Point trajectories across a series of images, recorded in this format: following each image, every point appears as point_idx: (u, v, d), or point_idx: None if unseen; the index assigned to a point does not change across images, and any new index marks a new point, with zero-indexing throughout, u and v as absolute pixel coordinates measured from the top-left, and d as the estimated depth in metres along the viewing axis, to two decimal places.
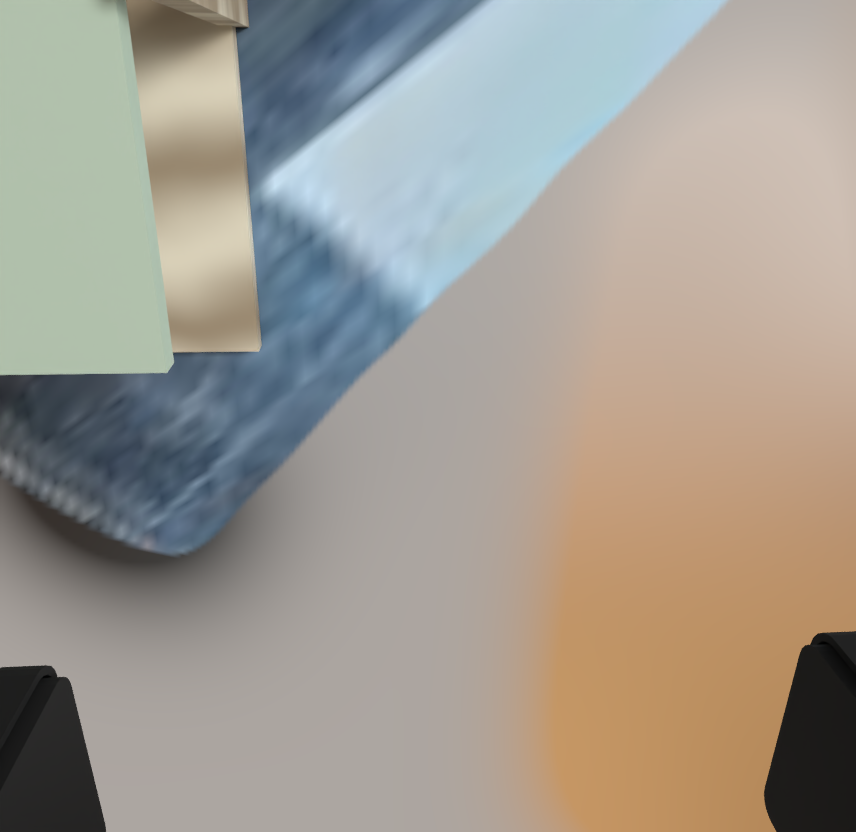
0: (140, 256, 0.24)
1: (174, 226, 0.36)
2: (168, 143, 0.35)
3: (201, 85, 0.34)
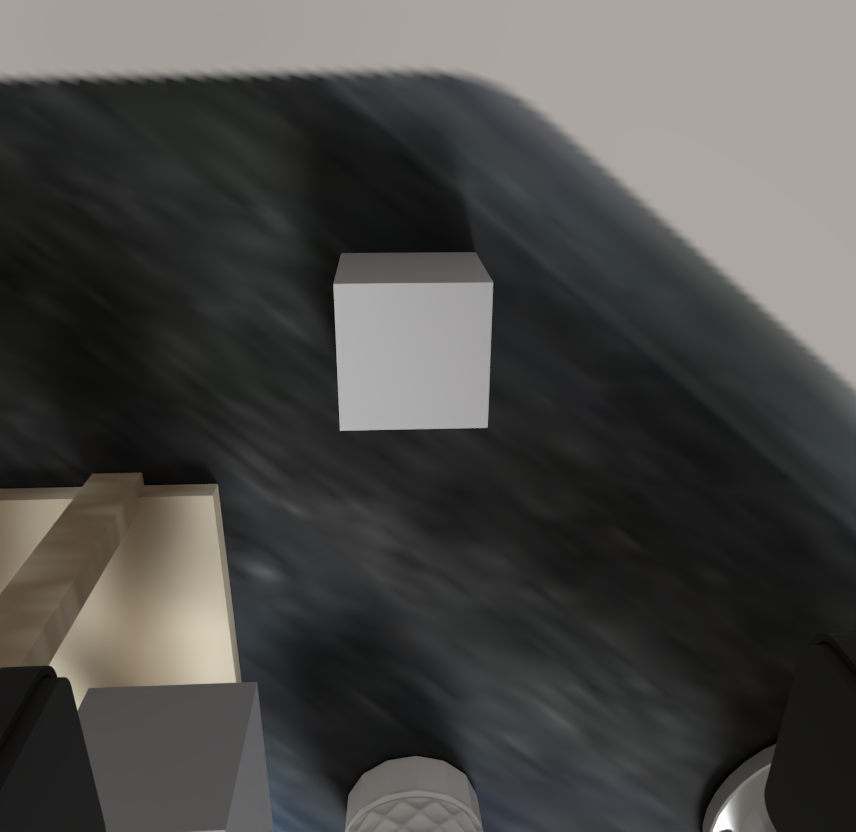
0: None
1: None
2: None
3: None
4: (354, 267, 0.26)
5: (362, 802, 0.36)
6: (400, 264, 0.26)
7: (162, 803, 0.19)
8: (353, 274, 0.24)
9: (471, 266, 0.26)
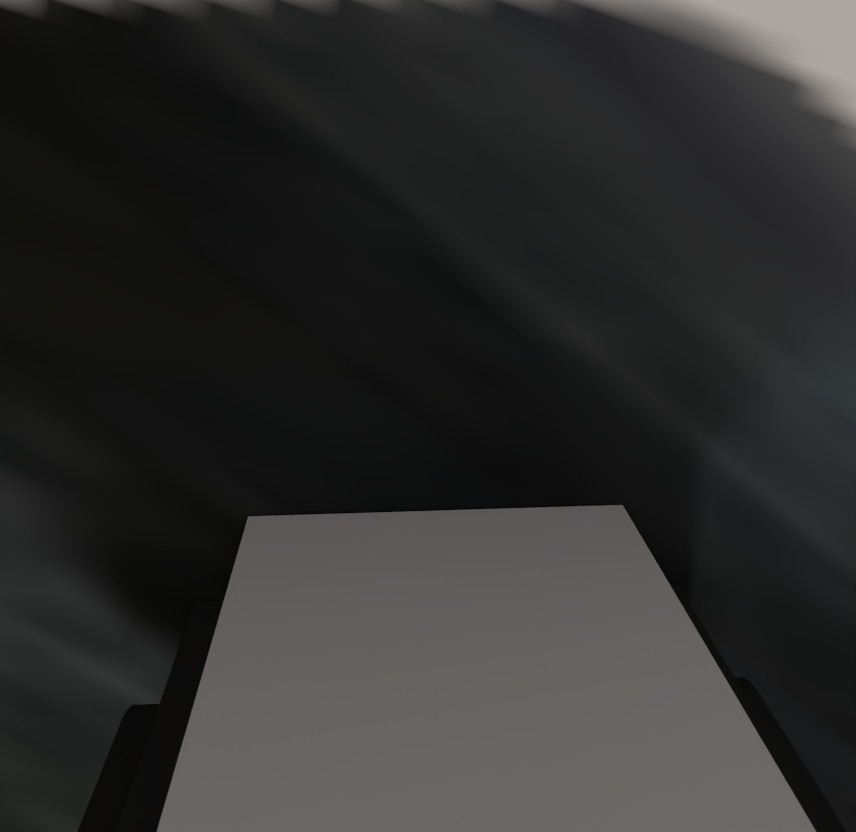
0: None
1: None
2: None
3: None
4: (266, 652, 0.07)
5: None
6: (421, 617, 0.08)
7: None
8: (250, 739, 0.06)
9: (659, 636, 0.08)
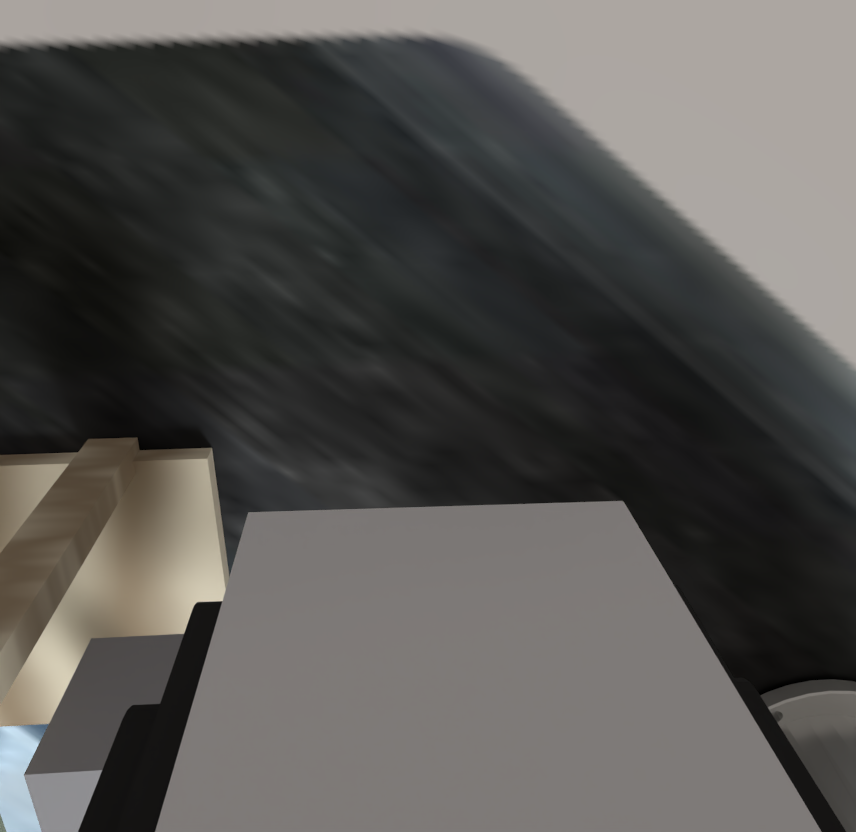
0: None
1: None
2: (18, 671, 0.35)
3: None
4: (267, 647, 0.07)
5: None
6: (422, 612, 0.08)
7: None
8: (251, 734, 0.06)
9: (660, 631, 0.08)
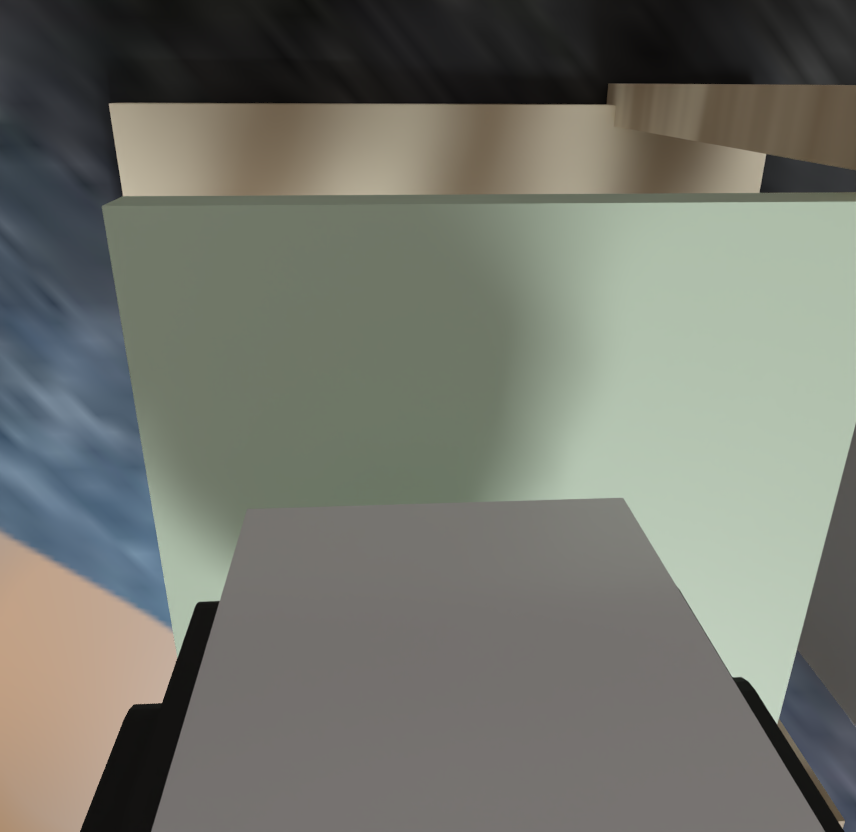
0: None
1: None
2: None
3: None
4: (265, 643, 0.07)
5: None
6: (421, 608, 0.08)
7: None
8: (249, 730, 0.06)
9: (660, 627, 0.08)
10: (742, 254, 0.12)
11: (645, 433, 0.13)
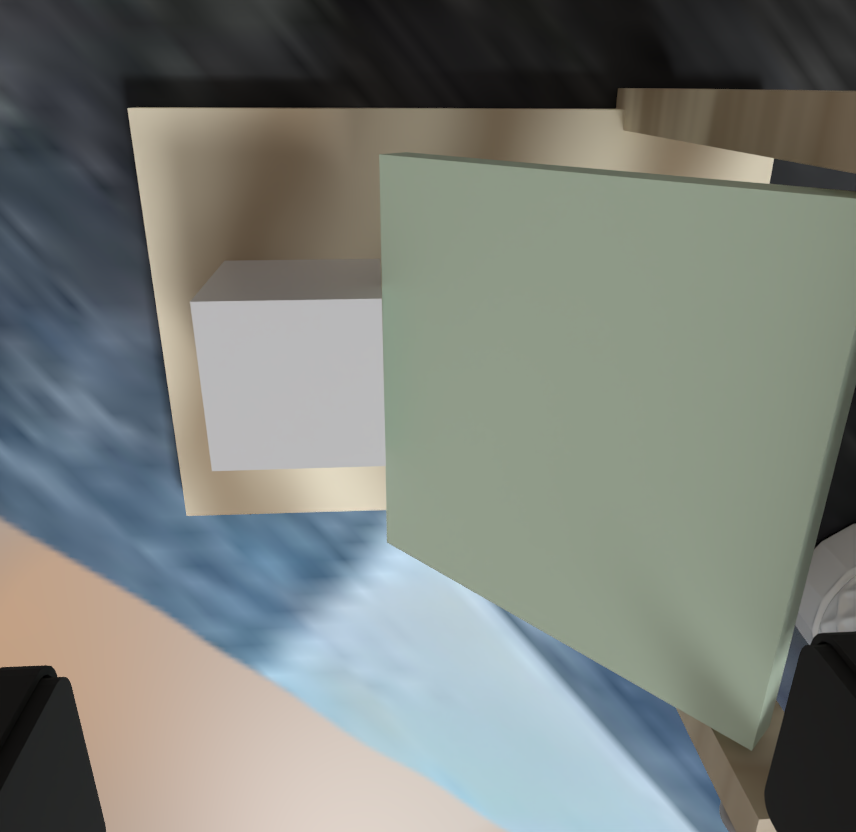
0: (479, 585, 0.22)
1: None
2: None
3: None
4: (297, 263, 0.24)
5: (846, 564, 0.30)
6: (307, 275, 0.22)
7: None
8: (262, 264, 0.24)
9: (283, 295, 0.20)
10: (724, 230, 0.14)
11: (648, 367, 0.16)
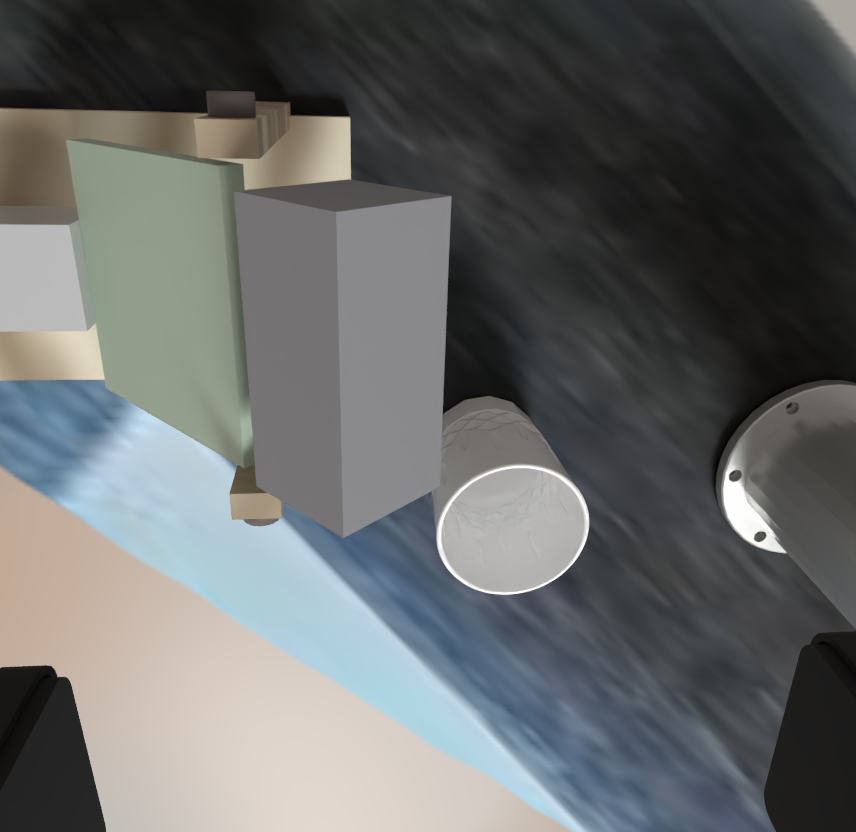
0: (144, 404, 0.36)
1: None
2: None
3: None
4: (44, 208, 0.37)
5: (448, 423, 0.44)
6: (42, 213, 0.36)
7: (319, 201, 0.23)
8: (21, 207, 0.37)
9: (11, 222, 0.34)
10: (181, 181, 0.28)
11: (174, 256, 0.30)
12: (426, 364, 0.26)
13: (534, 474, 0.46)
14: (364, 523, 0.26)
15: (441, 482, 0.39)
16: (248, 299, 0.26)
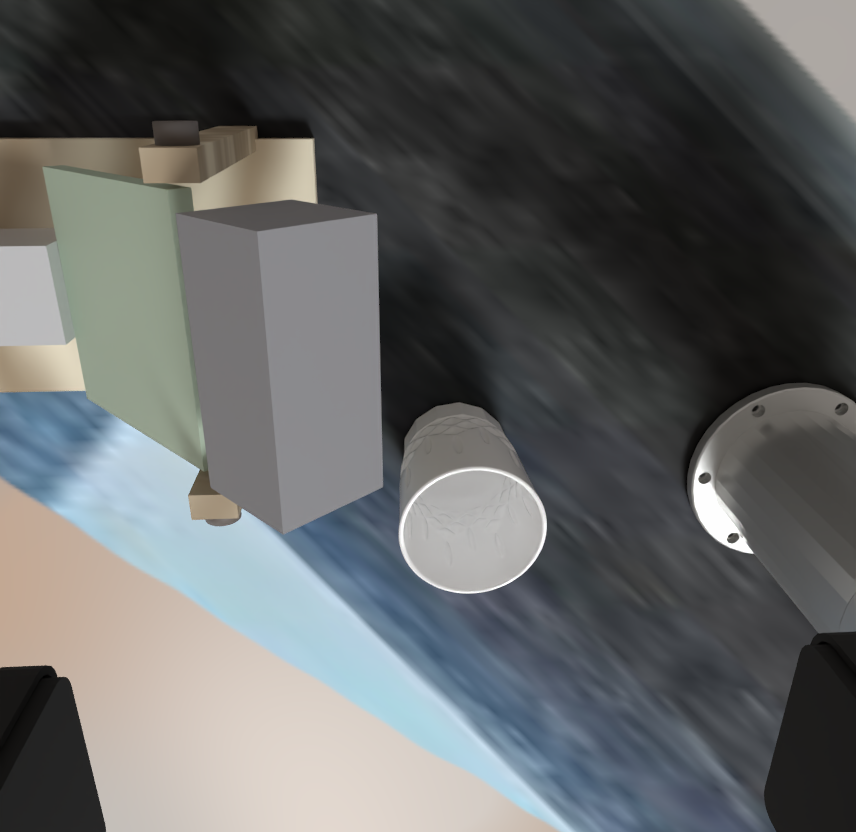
0: (119, 413, 0.38)
1: None
2: None
3: None
4: (28, 230, 0.40)
5: (418, 428, 0.46)
6: (24, 235, 0.39)
7: (248, 221, 0.25)
8: (7, 230, 0.40)
9: None
10: (138, 204, 0.30)
11: (136, 273, 0.32)
12: (361, 371, 0.28)
13: (503, 478, 0.47)
14: (305, 520, 0.28)
15: (405, 485, 0.41)
16: (192, 312, 0.28)
